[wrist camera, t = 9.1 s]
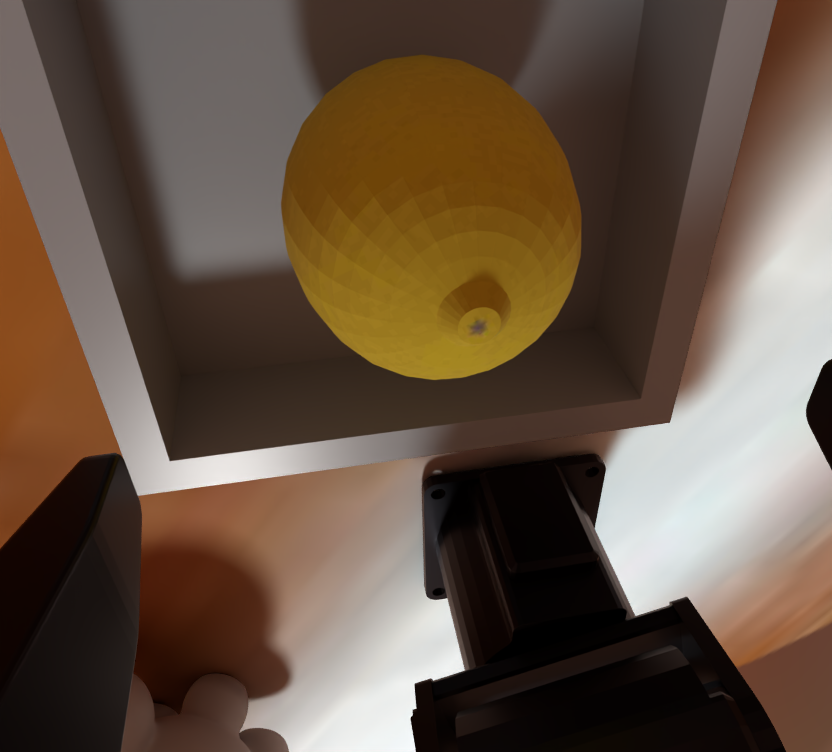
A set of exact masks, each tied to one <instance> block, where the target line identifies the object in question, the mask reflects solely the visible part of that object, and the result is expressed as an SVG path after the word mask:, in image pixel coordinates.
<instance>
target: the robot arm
mask: <svg viewBox="0 0 832 752" xmlns="http://www.w3.org/2000/svg"><path fill="white" fill-rule="evenodd" d="M806 417H807V421H808V424H809V426H810V428H811V430H812V432H813V434H814V436H815V438H816V440H817V442H818V444H819V446H820V448H821V450H822V452H823V454H824V456H825V458H826V460H827V462H828V464H829V466H830V468H831V470H832V359H831V360H829V361H827V362H826V363H825V364H824V365H823V367H822V369H821V372H820V374H819V376H818V379H817V381H816V384H815V386H814V389H813V391H812V394H811V396H810V399H809V401H808V404H807V408H806ZM591 467H592V468H591ZM589 468H590V469H589ZM605 472H606V467H605V465H604V463H603V461H602V459H601V458H600V456H599V455H596V454H586V455H579V456H572V457H565V458H558V459H551V460H543V461H536V462H529V463H522V464H515V465H508V466H501V467H494V468H487V469H480V470H472V471H465V472H458V473H451V474H444V475H437V476H433V477H430V478H428V479H427V480H425V482H424V483H423V485H422V517H423V556H424V586H425V591H426V595H427V597H428V598H430V599H433V600H439V599H445V598H448V602H449V607H450V611H451V615H452V619H453V623H454V627H455V631H456V636H457V640H458V644H459V648H460V652H461V656H462V660H463V665H464V669H465V671H463V672H460V673H456V674H453V675H450V676H447V677H444V678H441V679H438V680H434V681H433V680H432V679H427V680H424V681H421V682H418V683H415V696H416V708H417V709H414V710H413V716H412V717H411V724H412V730H413V736H414V742H415V748H416V752H786V750H785V748H784V746H783V744H782V742H781V740H780V738H779V736H778V734H777V732H776V730H775V728H774V726H773V724H772V723H771V721H770V719H769V717H768V716H767V714H766V712H765V710H764V708H763V707H762V705H761V704H760V702H759V701H758V699H757V697H756V696H755V694H754V693H753V691H752V690H751V688H750V687H749V686H748V684H747V683H746V681H745V680H744V678H743V677H742V675H741V674H740V672H739V671H738V670H737V668H736V667H735V665H734V664H733V662H732V661H731V659H730V658H729V656H728V655H727V654H726V652H725V651H724V649H723V648H722V646H721V645H720V643H719V642H718V641H717V639H716V638H715V636H714V635H713V633H712V632H711V630H710V629H709V627H708V626H707V625H706V623H705V622H704V620H703V619H702V617H701V616H700V614H699V613H698V612H697V610H696V609H695V607H694V606H693V604H692V603H691V601H690V600H689V599H688V597H684V598H681V599H678V600H675V601H671V602H670V603H669V604H670V605H669V606H666V607H663V608H660V609H657V610H654V611H650V612H647V613H644V614H641V615H638V616H635V614H634V612H633V610H632V608H631V606H630V603H629V601H628V599H627V597H626V595H625V593H624V591H623V589H622V586H621V584H620V582H619V580H618V578H617V576H616V574H615V571H614V569H613V567H612V565H611V563H610V561H609V559H608V556H607V554H606V552H605V550H604V548H603V546H602V544H601V541H600V539H599V537H598V535H597V533H596V531H595V523H596V518H597V513H598V508H599V503H600V497H601V492H602V487H603V482H604V477H605ZM437 489H440V490H438V491H434V490H437ZM141 533H142V512H141V505H140V501H139V498H138V495H137V492H136V490H135V487H134V484H133V482H132V479H131V476H130V474H129V471H128V469H127V466H126V463H125V461H124V459H123V458H122V457H121V455H119V454H116V453H111V454H103V455H96V456H88V457H85V458H83V459H82V460H80V461H79V462H78V463H77V464H76V465H75V466H74V468H73V469H72V470H71V471H70V472H69V473H68V474H67V475H66V476H65V477H64V479H63V480H62V481H61V482H60V483H59V484H58V485H57V486H56V487H55V489H54V490H53V491H52V492H51V493H50V494H49V495H48V496H47V497H46V499H45V500H44V501H43V502H42V503H41V504H40V505H39V506H38V507H37V508H36V510H35V511H34V512H33V513H32V514H31V515H30V516H29V517H28V518H27V520H26V521H25V522H24V523H23V524H22V525H21V526H20V527H19V528H18V530H17V531H16V532H15V533H14V534H13V535H12V536H11V537H10V538H9V539H8V541H7V542H6V543H5V544H4V545H3V546H2V547H1V548H0V752H121V749H122V742H123V736H124V729H125V723H126V716H127V710H128V703H129V696H130V690H131V683H132V677H133V670H134V664H135V657H136V649H137V641H138V630H139V604H140V568H141Z"/></svg>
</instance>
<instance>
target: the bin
mask: <svg viewBox="0 0 832 752" xmlns="http://www.w3.org/2000/svg"><path fill="white" fill-rule="evenodd" d="M776 4H777V0H0V128H1V131H2V133H3V136H4V139H5V142H6V144H7V147H8V150H9V152H10V155H11V158H12V160H13V163H14V166H15V168H16V171H17V174H18V176H19V179H20V182H21V184H22V187H23V190H24V192H25V195H26V198H27V200H28V203H29V206H30V209H31V211H32V214H33V217H34V219H35V222H36V225H37V227H38V230H39V233H40V235H41V238H42V241H43V243H44V246H45V249H46V251H47V254H48V257H49V259H50V262H51V265H52V268H53V270H54V273H55V276H56V278H57V281H58V284H59V286H60V289H61V292H62V294H63V297H64V300H65V302H66V305H67V308H68V310H69V313H70V316H71V318H72V321H73V324H74V327H75V329H76V332H77V335H78V337H79V340H80V343H81V345H82V348H83V351H84V353H85V356H86V359H87V361H88V364H89V367H90V369H91V372H92V375H93V377H94V380H95V383H96V385H97V388H98V391H99V394H100V396H101V399H102V402H103V404H104V407H105V410H106V412H107V415H108V418H109V420H110V423H111V426H112V428H113V431H114V434H115V436H116V439H117V442H118V444H119V447H120V450H121V453H122V455H123V458H124V461H125V463H126V466H127V469H128V471H129V474H130V476H131V479H132V482H133V484H134V487H135V490H136V492H137V495H138V496H139V495H146V494H153V493H161V492H168V491H175V490H182V489H190V488H197V487H204V486H212V485H219V484H226V483H233V482H241V481H248V480H255V479H263V478H270V477H277V476H284V475H292V474H299V473H306V472H314V471H321V470H328V469H335V468H343V467H350V466H357V465H365V464H372V463H379V462H386V461H394V460H401V459H408V458H416V457H423V456H430V455H437V454H445V453H452V452H459V451H467V450H474V449H481V448H488V447H496V446H503V445H510V444H518V443H525V442H532V441H539V440H547V439H554V438H561V437H569V436H576V435H583V434H590V433H598V432H605V431H612V430H620V429H627V428H634V427H641V426H649V425H656V424H663V423H670V420H671V416H672V412H673V408H674V404H675V400H676V397H677V393H678V389H679V385H680V381H681V377H682V373H683V369H684V365H685V361H686V357H687V353H688V349H689V345H690V341H691V338H692V334H693V330H694V326H695V322H696V318H697V314H698V310H699V306H700V302H701V298H702V294H703V290H704V286H705V283H706V279H707V275H708V271H709V267H710V263H711V259H712V255H713V251H714V247H715V243H716V239H717V235H718V231H719V228H720V224H721V220H722V216H723V212H724V208H725V204H726V200H727V196H728V192H729V188H730V184H731V180H732V176H733V173H734V169H735V165H736V161H737V157H738V153H739V149H740V145H741V141H742V137H743V133H744V129H745V125H746V121H747V117H748V114H749V110H750V106H751V102H752V98H753V94H754V90H755V86H756V82H757V78H758V74H759V70H760V66H761V62H762V59H763V55H764V51H765V47H766V43H767V39H768V35H769V31H770V27H771V23H772V19H773V15H774V11H775V7H776ZM415 55H429V56H436V57H443V58H450V59H457V60H461V61H464V62H466V63H468V64H471V65H473V66H475V67H477V68H480V69H482V70H484V71H486V72H489V73H491V74H493V75H495V76H497V77H499V78H501V79H502V80H504V81H505V82H506V83H507V84H508V85H509V86H510V87H512V88H513V89H514V90H515V91H516V92H517V93H519V94H520V95H521V96H522V97H523V98H524V99H525V100H527V101H528V102H529V103H530V104H531V105H532V106H533V107H535V108H536V110H537V111H538V112H539V113H540V115H541V116H542V118H543V119H544V121H545V122H546V124H547V126H548V127H549V129H550V130H551V132H552V134H553V135H554V137H555V138H556V140H557V142H558V143H559V145H560V147H561V148H562V150H563V152H564V154H565V156H566V159H567V161H568V164H569V168H570V171H571V175H572V178H573V182H574V185H575V189H576V193H577V196H578V200H579V203H580V209H581V257H580V260H579V264H578V268H577V271H576V275H575V278H574V282H573V285H572V288H571V291H570V293H569V295H568V297H567V299H566V300H565V302H564V304H563V306H562V308H561V310H560V311H559V313H558V315H557V317H556V318H555V320H554V321H553V322H552V323H551V324H550V325H549V327H548V328H547V329H546V330H545V331H544V332H543V333H542V335H541V336H540V337H539V338H538V339H537V340H536V341H535V342H534V343H532V344H531V345H530V346H528V347H527V348H526V349H524V350H523V351H522V352H521V353H519V354H518V355H517V356H515V357H514V358H512V359H510V360H508V361H507V362H505V363H503V364H501V365H499V366H497V367H495V368H493V369H491V370H488V371H484V372H481V373H477V374H474V375H470V376H467V377H463V378H452V379H439V380H431V379H423V378H416V377H408V376H404V375H401V374H398V373H396V372H393V371H390V370H388V369H385V368H382V367H380V366H377V365H374V364H372V363H371V362H369V361H368V360H367V359H365V358H364V357H362V356H361V355H359V354H358V353H357V352H355V351H354V350H352V349H351V348H350V347H348V346H347V345H345V344H344V343H343V342H341V340H340V339H339V338H338V337H337V336H336V335H335V334H334V333H333V331H332V330H331V329H330V328H329V327H328V325H327V324H326V323H325V322H324V321H323V319H322V318H321V317H320V316H319V314H318V313H317V312H316V311H315V309H314V308H313V307H312V305H311V304H310V302H309V301H308V299H307V297H306V295H305V293H304V291H303V289H302V286H301V284H300V282H299V280H298V277H297V275H296V273H295V270H294V268H293V266H292V264H291V261H290V259H289V256H288V253H287V249H286V243H285V235H284V228H283V220H282V212H281V199H282V191H283V184H284V177H285V171H286V164H287V160H288V157H289V154H290V152H291V149H292V147H293V145H294V142H295V140H296V138H297V135H298V133H299V131H300V128H301V126H302V124H303V122H304V121H305V120H306V118H307V117H308V116H309V115H310V113H311V112H312V111H313V110H314V108H315V107H316V106H317V104H318V103H319V102H320V101H321V99H322V98H323V97H324V96H325V94H326V93H328V92H329V91H330V90H332V89H333V88H334V87H335V86H337V85H338V84H339V83H341V82H342V81H343V80H345V79H346V78H347V77H349V76H350V75H351V74H353V73H354V72H357V71H359V70H361V69H364V68H366V67H368V66H371V65H373V64H376V63H378V62H380V61H383V60H385V59H392V58H400V57H408V56H415Z"/></svg>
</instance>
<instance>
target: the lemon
mask: <svg viewBox="0 0 832 752" xmlns="http://www.w3.org/2000/svg"><path fill="white" fill-rule="evenodd" d="M281 212H282V220H283V228H284V235H285V243H286V249H287V253H288V256H289V259H290V261H291V264H292V266H293V268H294V270H295V273H296V275H297V277H298V280H299V282H300V284H301V286H302V289H303V291H304V293H305V295H306V297H307V299H308V301H309V302H310V304H311V305H312V307H313V308H314V309H315V311H316V312H317V313H318V314H319V316H320V317H321V318H322V319H323V321H324V322H325V323H326V324H327V325H328V327H329V328H330V329H331V330H332V331H333V333H334V334H335V335H336V336H337V337H338V338H339V339H340V340H341V342H343V343H344V344H345V345H347V346H348V347H350V348H351V349H352V350H354V351H355V352H357V353H358V354H359V355H361V356H362V357H364V358H365V359H367V360H368V361H369V362H371V363H372V364H374V365H377V366H380V367H382V368H385V369H388V370H390V371H393V372H396V373H398V374H401V375H404V376H408V377H416V378H423V379H431V380H439V379H452V378H463V377H467V376H470V375H474V374H477V373H481V372H484V371H488V370H491V369H493V368H495V367H497V366H499V365H501V364H503V363H505V362H507V361H508V360H510V359H512V358H514V357H515V356H517V355H518V354H519V353H521V352H522V351H523V350H524V349H526V348H527V347H528V346H530V345H531V344H532V343H534V342H535V341H536V340H537V339H538V338H539V337H540V336H541V335H542V333H543V332H544V331H545V330H546V329H547V328H548V327H549V325H550V324H551V323H552V322H553V321H554V320H555V318H556V317H557V315H558V313H559V311H560V310H561V308H562V306H563V304H564V302H565V300H566V299H567V297H568V295H569V293H570V291H571V288H572V285H573V282H574V278H575V275H576V271H577V268H578V264H579V260H580V257H581V209H580V203H579V200H578V196H577V193H576V189H575V185H574V182H573V178H572V175H571V171H570V168H569V164H568V161H567V159H566V156H565V154H564V152H563V150H562V148H561V147H560V145H559V143H558V142H557V140H556V138H555V137H554V135H553V134H552V132H551V130H550V129H549V127H548V126H547V124H546V122H545V121H544V119H543V118H542V116H541V115H540V113H539V112H538V111H537V110H536V108H535V107H533V106H532V105H531V104H530V103H529V102H528V101H527V100H525V99H524V98H523V97H522V96H521V95H520V94H519V93H517V92H516V91H515V90H514V89H513V88H512V87H510V86H509V85H508V84H507V83H506V82H505V81H504V80H502V79H501V78H499V77H497V76H495V75H493V74H491V73H489V72H486V71H484V70H482V69H480V68H477V67H475V66H473V65H471V64H468V63H466V62H464V61H461V60H457V59H450V58H443V57H436V56H429V55H415V56H408V57H400V58H392V59H385V60H383V61H380V62H378V63H376V64H373V65H371V66H368V67H366V68H364V69H361V70H359V71H357V72H354V73H353V74H351V75H350V76H349V77H347V78H346V79H345V80H343V81H342V82H341V83H339V84H338V85H337V86H335V87H334V88H333V89H332V90H330V91H329V92H328V93H326V94H325V96H324V97H323V98H322V99H321V101H320V102H319V103H318V104H317V106H316V107H315V108H314V110H313V111H312V112H311V113H310V115H309V116H308V117H307V118H306V120H305V121H304V122H303V124H302V126H301V128H300V131H299V133H298V135H297V138H296V140H295V142H294V145H293V147H292V149H291V152H290V154H289V157H288V160H287V164H286V171H285V177H284V184H283V191H282V199H281Z"/></svg>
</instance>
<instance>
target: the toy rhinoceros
mask: <svg viewBox="0 0 832 752" xmlns="http://www.w3.org/2000/svg"><path fill="white" fill-rule="evenodd" d="M247 711H248V695H247V691H246V689H245V687H244V686H243V684H242V683H241V682H239V681H238V680H237V679H235V678H233V677H231V676H228V675H225V674H218V673H213V674H207V675H204V676H202V677H200V678H199V679H198V680H196V681H195V683H194V684H193V685H192V686H191V688H190V689H189V691H188V692H187V694H186V697H185V699H184V702H183V706H182V710H181V713H180V715H178V714H177V713H176V712H175V711H174V710H173V709H171V708H170V707H168V706H165V705H162V704H157V703H153V701H152V697H151V695H150V692H149V690H148V688H147V687H146V685H145V684H144V682H143V681H142V680H141V679H140V678H139V677H138V676H137V675H135V674H133V677H132V683H131V690H130V696H129V703H128V710H127V716H126V723H125V729H124V736H123V742H122V749H121V752H289V750H288V746H287V743H286V741H285V740H284V738H283V737H282V736H281V735H280V734H278V733H277V732H275V731H272V730H269V729H264V728H251V729H246V730H244V731H242V732H240V730H241V728H242V726H243V724H244V721H245V719H246V716H247ZM239 732H240V733H239Z"/></svg>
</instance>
